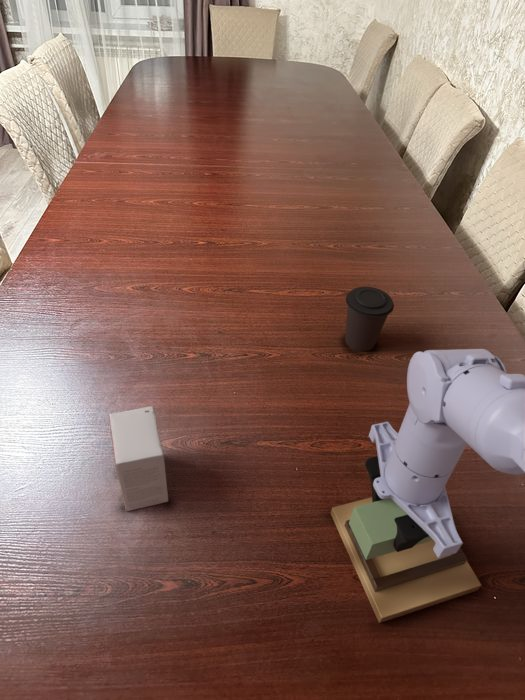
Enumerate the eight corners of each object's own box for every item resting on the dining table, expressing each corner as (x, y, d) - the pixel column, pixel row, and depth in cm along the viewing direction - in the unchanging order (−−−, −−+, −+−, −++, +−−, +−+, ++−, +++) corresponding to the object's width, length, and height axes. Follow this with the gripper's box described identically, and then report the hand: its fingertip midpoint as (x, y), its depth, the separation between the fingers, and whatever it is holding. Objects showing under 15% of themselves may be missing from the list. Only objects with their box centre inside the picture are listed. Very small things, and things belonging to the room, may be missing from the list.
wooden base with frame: (477, 590, 61) (485, 580, 60) (379, 623, 58) (384, 613, 56) (417, 490, 71) (423, 479, 69) (330, 513, 68) (333, 502, 66)
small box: (118, 462, 71) (107, 412, 64) (159, 453, 73) (153, 403, 66) (125, 513, 66) (114, 464, 59) (169, 503, 67) (163, 454, 60)
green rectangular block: (430, 541, 58) (439, 525, 56) (365, 560, 56) (372, 544, 54) (410, 506, 61) (418, 489, 59) (348, 523, 59) (354, 506, 57)
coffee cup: (391, 344, 93) (405, 299, 86) (362, 363, 89) (374, 318, 82) (357, 321, 97) (368, 276, 91) (328, 338, 93) (336, 293, 86)
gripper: (353, 402, 52) (333, 479, 62) (428, 532, 42) (390, 600, 52) (415, 390, 54) (386, 465, 63) (500, 512, 44) (451, 581, 53)
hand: (392, 525), depth 58 cm, fingers closed on green rectangular block, 4 cm apart
